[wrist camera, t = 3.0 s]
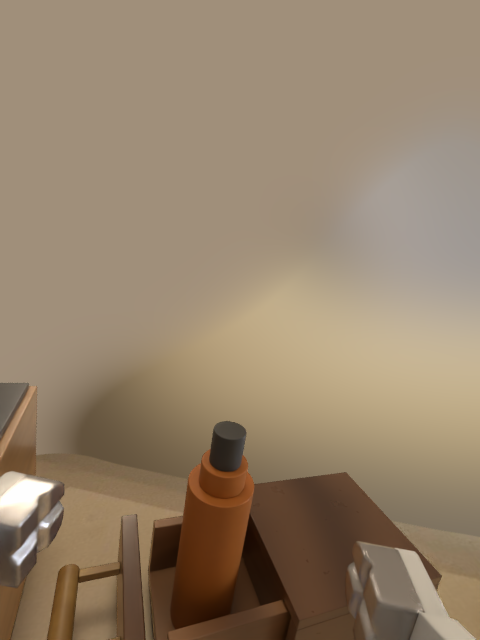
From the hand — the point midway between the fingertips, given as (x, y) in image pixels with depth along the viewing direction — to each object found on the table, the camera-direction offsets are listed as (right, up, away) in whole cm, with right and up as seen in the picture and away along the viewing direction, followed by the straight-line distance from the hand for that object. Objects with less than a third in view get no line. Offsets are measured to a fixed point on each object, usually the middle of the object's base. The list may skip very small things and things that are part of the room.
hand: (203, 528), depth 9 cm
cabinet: (+7, -19, +21) cm, 29 cm away
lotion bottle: (-2, -16, +16) cm, 23 cm away
